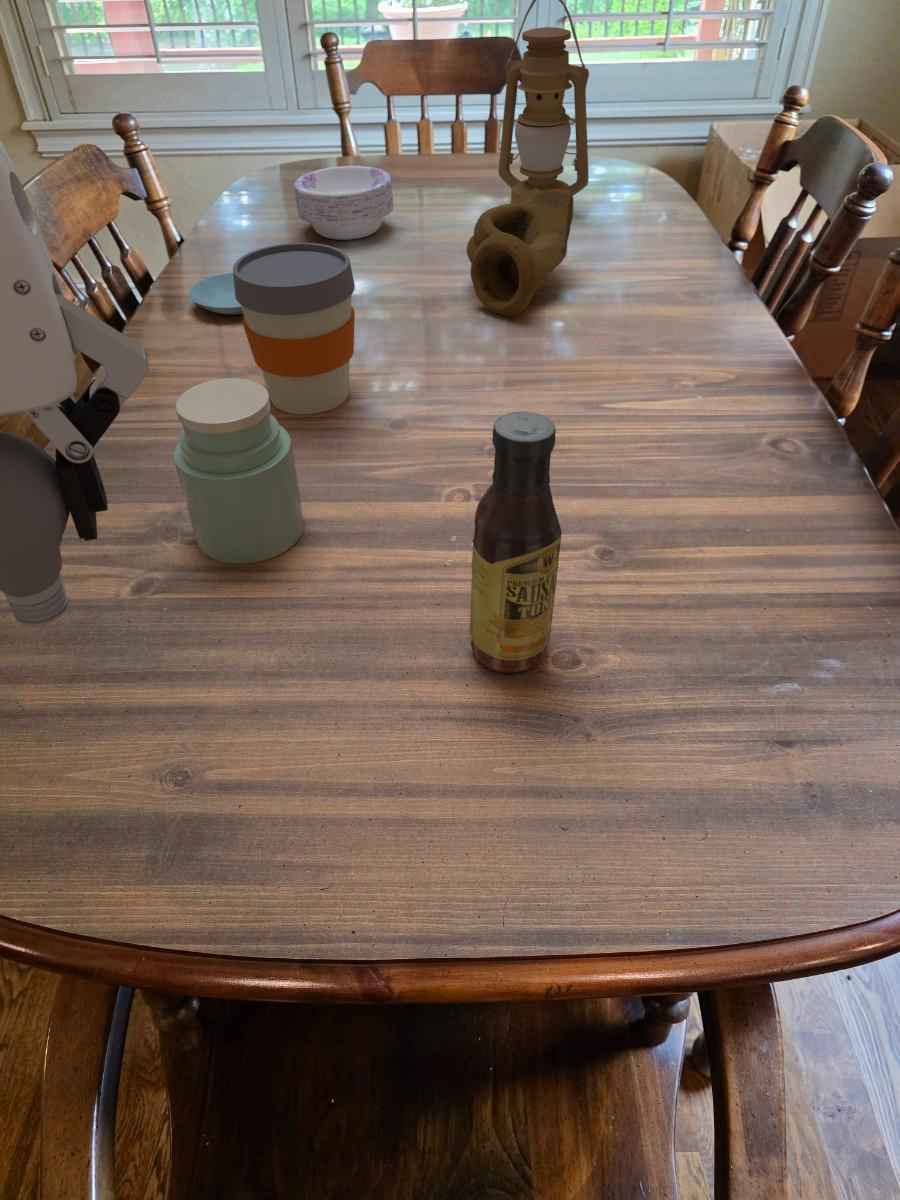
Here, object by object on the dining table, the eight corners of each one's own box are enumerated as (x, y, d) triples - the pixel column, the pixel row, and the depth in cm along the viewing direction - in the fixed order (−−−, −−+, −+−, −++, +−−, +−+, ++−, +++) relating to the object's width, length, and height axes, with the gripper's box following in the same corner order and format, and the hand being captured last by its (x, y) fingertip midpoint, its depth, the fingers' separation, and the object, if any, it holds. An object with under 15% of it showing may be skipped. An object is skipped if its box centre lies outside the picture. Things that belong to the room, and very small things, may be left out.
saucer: (288, 288, 123) (286, 272, 121) (267, 324, 114) (264, 307, 112) (207, 286, 124) (204, 270, 122) (180, 322, 115) (176, 305, 113)
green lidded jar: (173, 546, 79) (134, 415, 70) (239, 489, 86) (211, 362, 77) (263, 576, 76) (235, 442, 67) (324, 514, 82) (306, 384, 73)
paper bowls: (292, 221, 143) (285, 169, 138) (381, 210, 147) (378, 159, 141) (309, 253, 132) (302, 198, 127) (405, 240, 136) (402, 187, 130)
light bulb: (11, 574, 45) (-65, 403, 39) (124, 577, 45) (68, 405, 38) (-42, 656, 41) (-137, 478, 34) (83, 660, 41) (12, 482, 34)
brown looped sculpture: (636, 220, 119) (551, 239, 104) (595, 303, 128) (511, 332, 113) (535, 153, 124) (440, 162, 109) (502, 238, 133) (410, 257, 118)
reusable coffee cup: (306, 359, 106) (288, 234, 96) (386, 386, 101) (377, 256, 91) (231, 402, 99) (204, 270, 89) (314, 434, 93) (294, 298, 83)
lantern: (588, 202, 148) (605, -12, 128) (584, 223, 140) (602, -1, 120) (500, 199, 150) (504, -12, 130) (491, 219, 142) (494, -2, 122)
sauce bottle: (508, 690, 65) (517, 466, 52) (453, 647, 69) (448, 427, 55) (568, 649, 68) (591, 428, 55) (512, 609, 72) (521, 393, 59)
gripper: (101, 53, 33) (195, 462, 44) (-449, 85, 28) (-182, 527, 40) (109, 97, 27) (213, 548, 39) (-566, 145, 23) (-219, 632, 35)
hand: (11, 534), depth 40 cm, fingers closed on light bulb, 6 cm apart
